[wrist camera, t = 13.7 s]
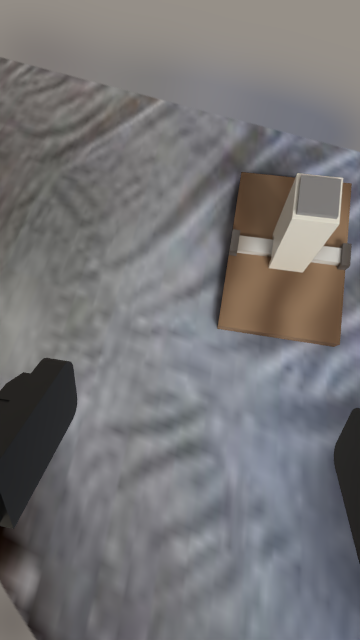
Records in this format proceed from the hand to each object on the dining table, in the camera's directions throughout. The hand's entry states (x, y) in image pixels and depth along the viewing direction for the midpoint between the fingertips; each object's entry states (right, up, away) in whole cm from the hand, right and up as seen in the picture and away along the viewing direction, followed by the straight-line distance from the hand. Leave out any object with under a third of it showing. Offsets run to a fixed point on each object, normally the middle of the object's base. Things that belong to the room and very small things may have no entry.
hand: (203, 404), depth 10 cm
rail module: (+11, +10, +26) cm, 30 cm away
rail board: (+11, +9, +28) cm, 31 cm away
